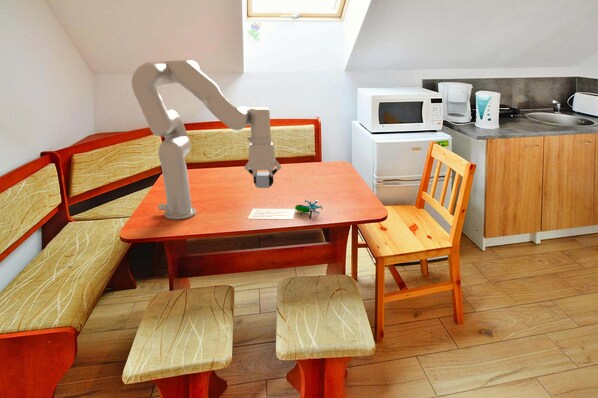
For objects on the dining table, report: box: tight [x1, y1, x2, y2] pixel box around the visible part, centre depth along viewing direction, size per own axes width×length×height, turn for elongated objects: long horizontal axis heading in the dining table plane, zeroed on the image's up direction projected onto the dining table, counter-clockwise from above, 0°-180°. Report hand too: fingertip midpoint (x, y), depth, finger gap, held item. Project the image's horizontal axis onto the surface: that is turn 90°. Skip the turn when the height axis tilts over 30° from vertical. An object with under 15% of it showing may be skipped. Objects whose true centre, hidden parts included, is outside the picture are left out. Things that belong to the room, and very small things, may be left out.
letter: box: [247, 208, 296, 220], centre depth 172 cm, size 18×11×1 cm, turn 85°
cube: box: [255, 171, 271, 189], centre depth 167 cm, size 5×5×5 cm
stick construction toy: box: [294, 199, 323, 219], centre depth 169 cm, size 12×7×8 cm
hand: (263, 184), depth 168 cm, fingers closed on cube, 5 cm apart
